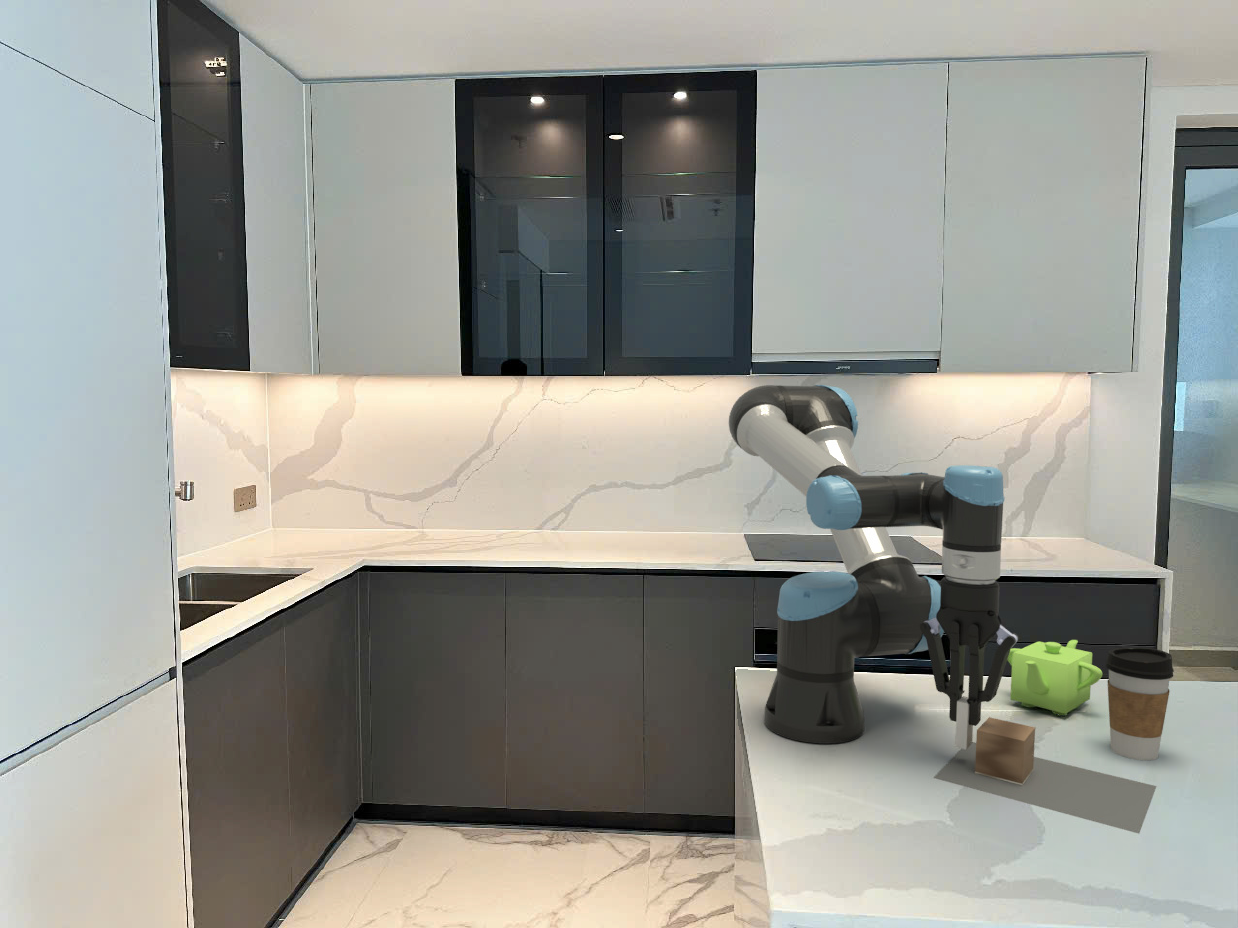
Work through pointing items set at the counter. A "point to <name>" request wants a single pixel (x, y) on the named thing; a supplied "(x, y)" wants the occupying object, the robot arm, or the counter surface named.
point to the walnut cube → (1005, 750)
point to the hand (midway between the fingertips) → (963, 744)
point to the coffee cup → (1137, 700)
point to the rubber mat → (1061, 790)
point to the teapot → (1052, 676)
